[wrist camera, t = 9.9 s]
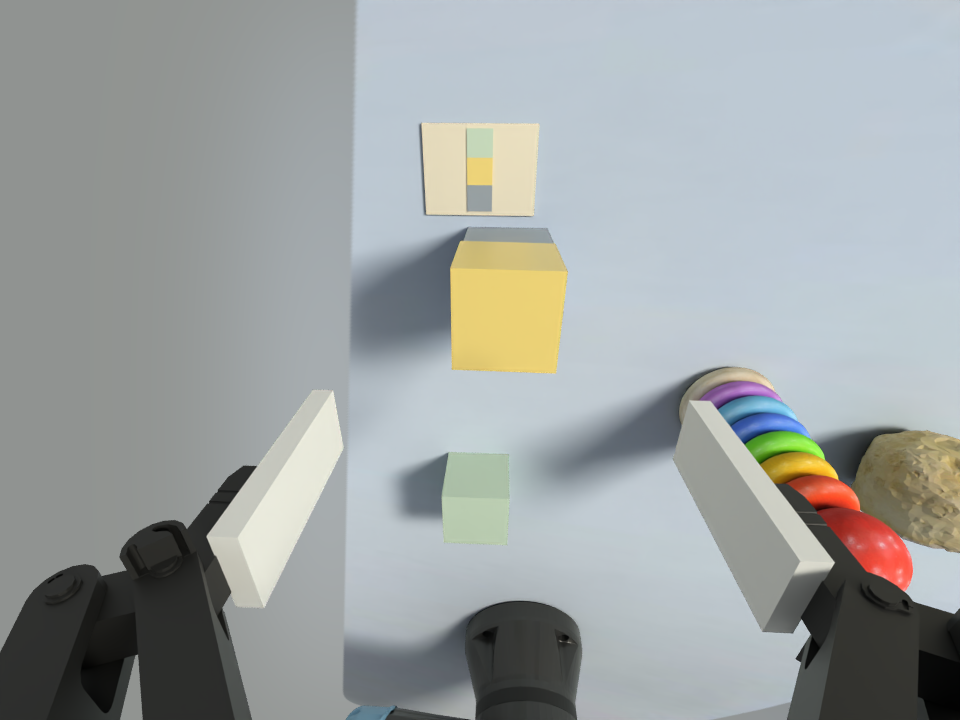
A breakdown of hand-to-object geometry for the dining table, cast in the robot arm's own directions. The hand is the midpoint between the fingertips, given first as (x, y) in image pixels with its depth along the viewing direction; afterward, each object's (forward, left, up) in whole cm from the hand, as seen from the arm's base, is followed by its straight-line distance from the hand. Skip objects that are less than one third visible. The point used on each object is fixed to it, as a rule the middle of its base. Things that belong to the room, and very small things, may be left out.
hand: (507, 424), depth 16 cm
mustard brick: (+1, 0, -14) cm, 14 cm away
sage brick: (-22, +2, -21) cm, 30 cm away
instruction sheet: (+7, +2, -20) cm, 22 cm away
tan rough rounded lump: (-17, -37, -21) cm, 46 cm away
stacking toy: (-12, -20, -21) cm, 31 cm away
